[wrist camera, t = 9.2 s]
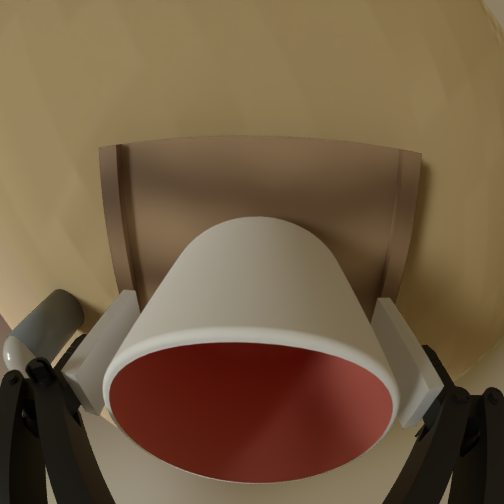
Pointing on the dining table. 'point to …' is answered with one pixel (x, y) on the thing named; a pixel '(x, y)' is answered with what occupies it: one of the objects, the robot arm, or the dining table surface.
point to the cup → (253, 361)
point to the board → (260, 202)
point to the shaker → (43, 331)
